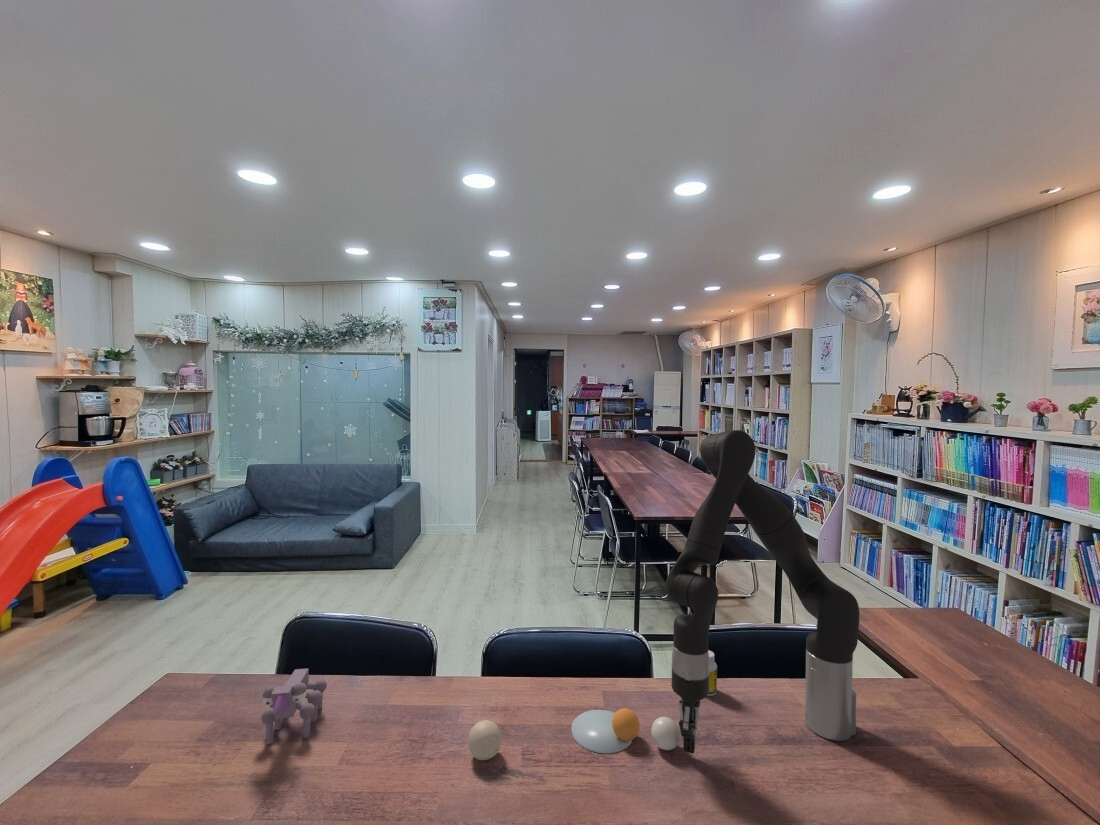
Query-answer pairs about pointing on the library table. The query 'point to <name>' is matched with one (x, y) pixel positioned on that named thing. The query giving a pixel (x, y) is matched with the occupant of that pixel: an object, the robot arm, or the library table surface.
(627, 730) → the object ball
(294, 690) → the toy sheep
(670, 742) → the cue ball
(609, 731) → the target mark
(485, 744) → the beige egg
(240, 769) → the library table surface
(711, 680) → the supplement bottle
